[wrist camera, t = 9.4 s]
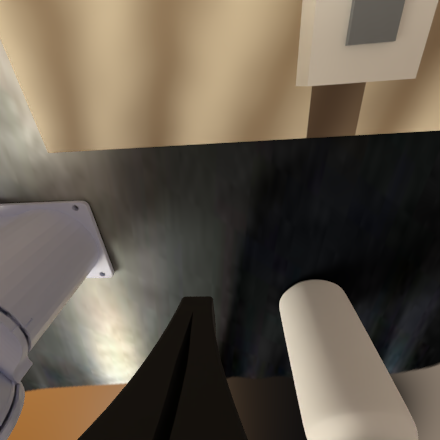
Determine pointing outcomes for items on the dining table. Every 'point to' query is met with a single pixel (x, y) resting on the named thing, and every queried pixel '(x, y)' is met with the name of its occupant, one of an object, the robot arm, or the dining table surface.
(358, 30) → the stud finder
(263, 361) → the dining table surface
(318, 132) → the board
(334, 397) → the can
